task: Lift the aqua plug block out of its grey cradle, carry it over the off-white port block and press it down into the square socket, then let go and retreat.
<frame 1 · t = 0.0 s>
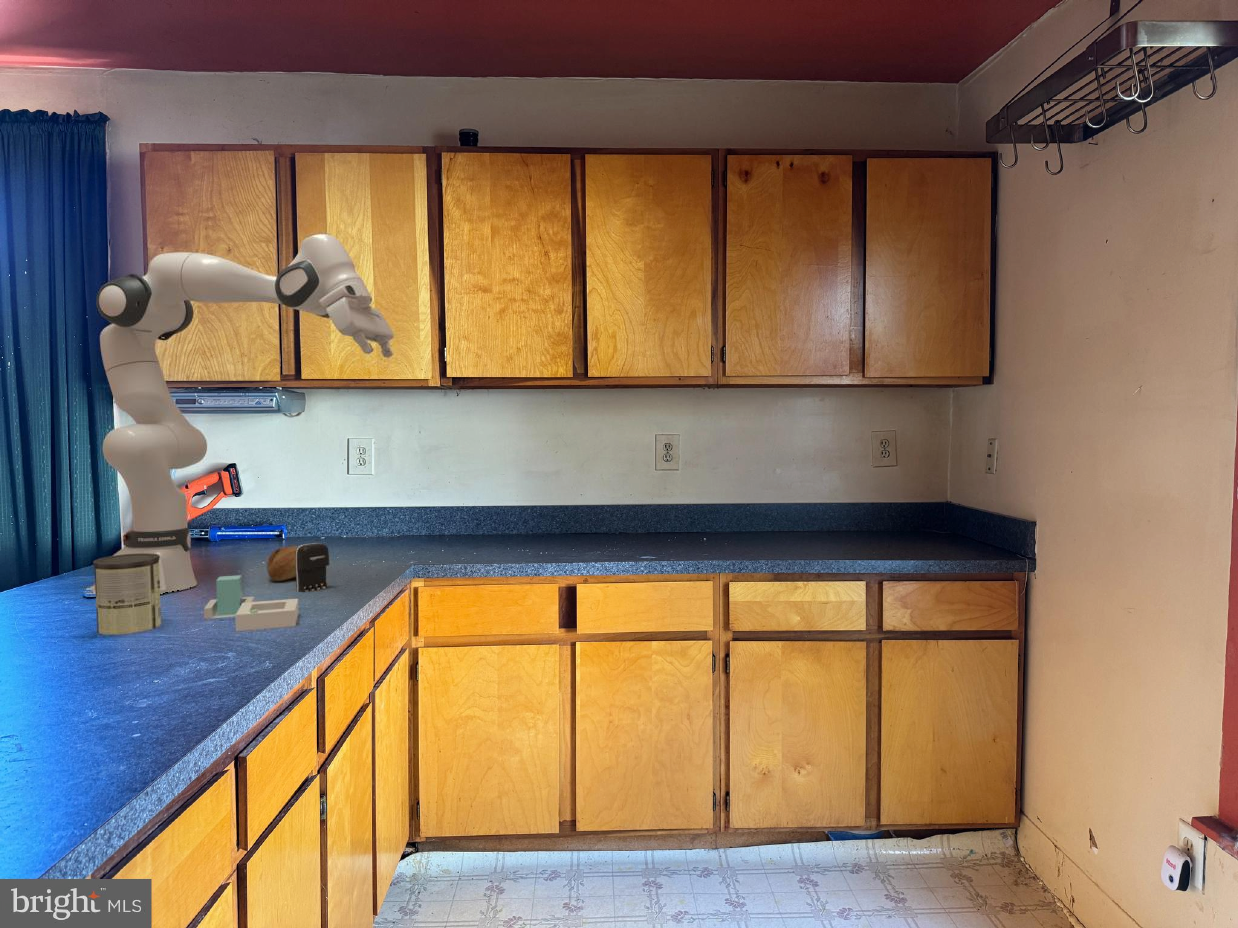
hand: (379, 354, 167), 54 cm above the table, tool tilted 30°, fingers open, 8 cm apart
holster: (230, 617, 151), on the table
battery: (313, 594, 172), on the table
bread roll: (291, 578, 191), on the table
port: (268, 627, 143), on the table
plug: (230, 612, 151), point 1 cm above the table, touching holster
coffee can: (130, 633, 140), on the table
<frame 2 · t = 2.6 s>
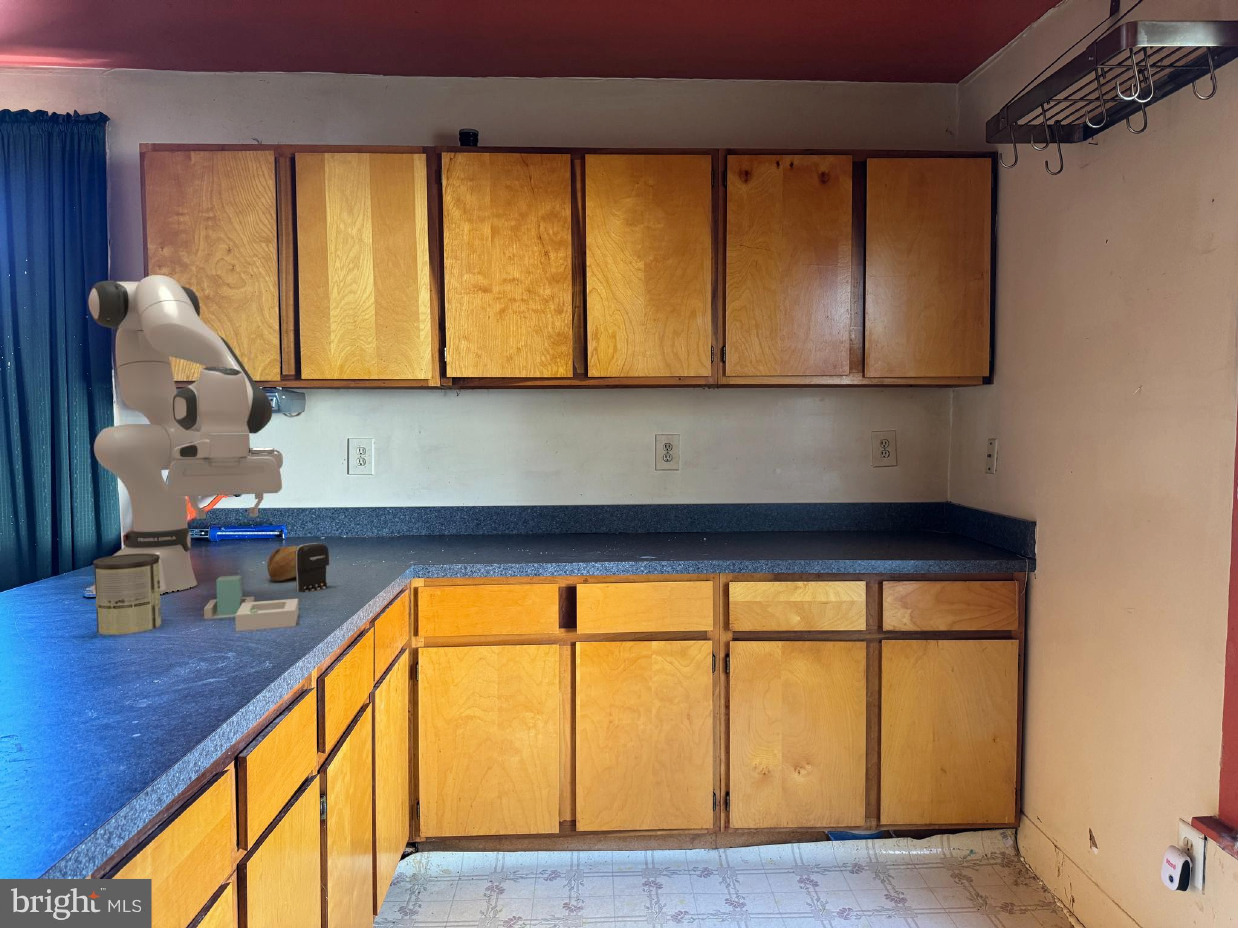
hand: (227, 517, 150), 20 cm above the table, tool pointing down, fingers open, 8 cm apart
nothing on the table moved.
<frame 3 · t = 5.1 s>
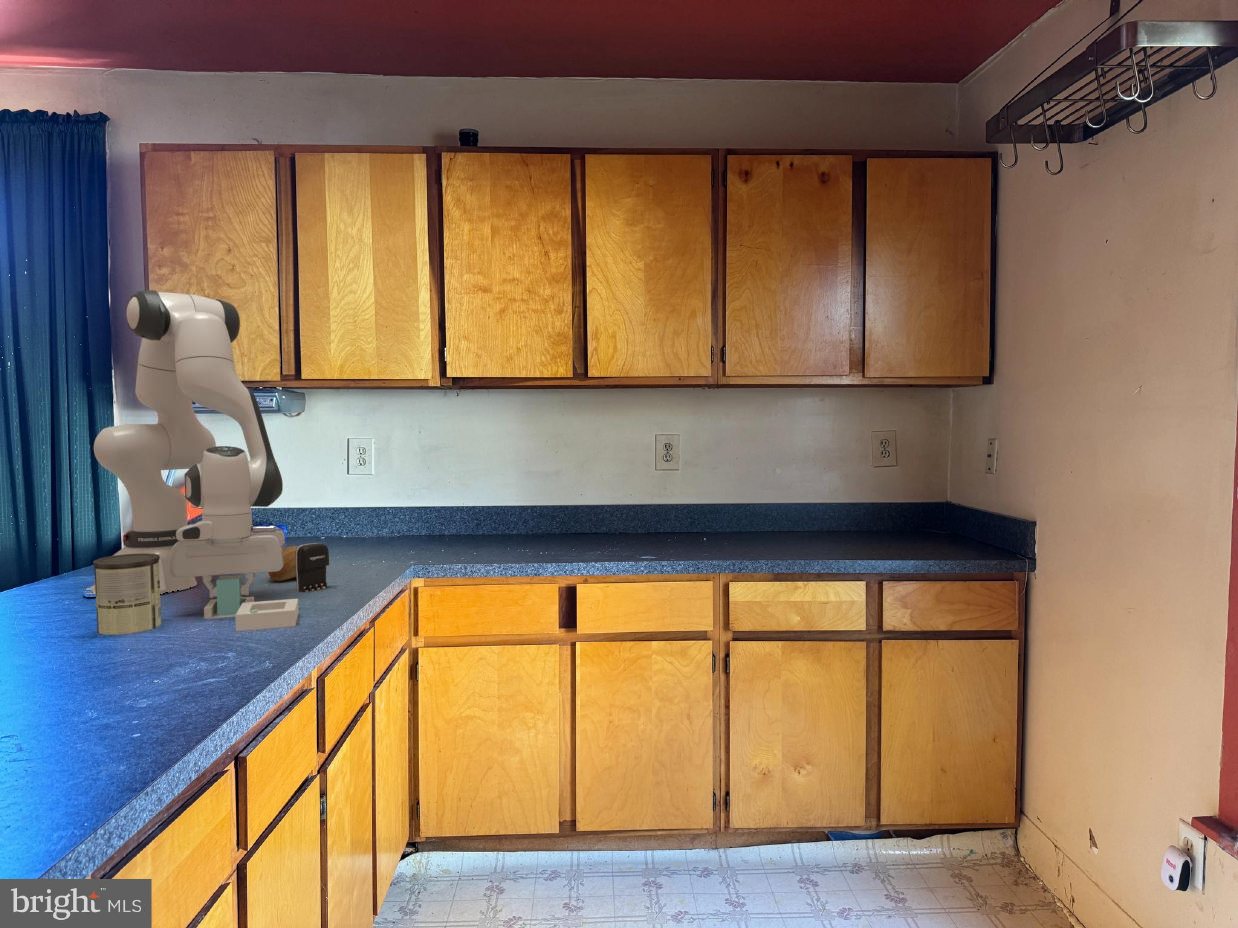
hand: (229, 595, 151), 4 cm above the table, tool pointing down, fingers closed on plug, 4 cm apart
plug: (230, 612, 151), point 1 cm above the table, touching gripper, holster
everything else where it was.
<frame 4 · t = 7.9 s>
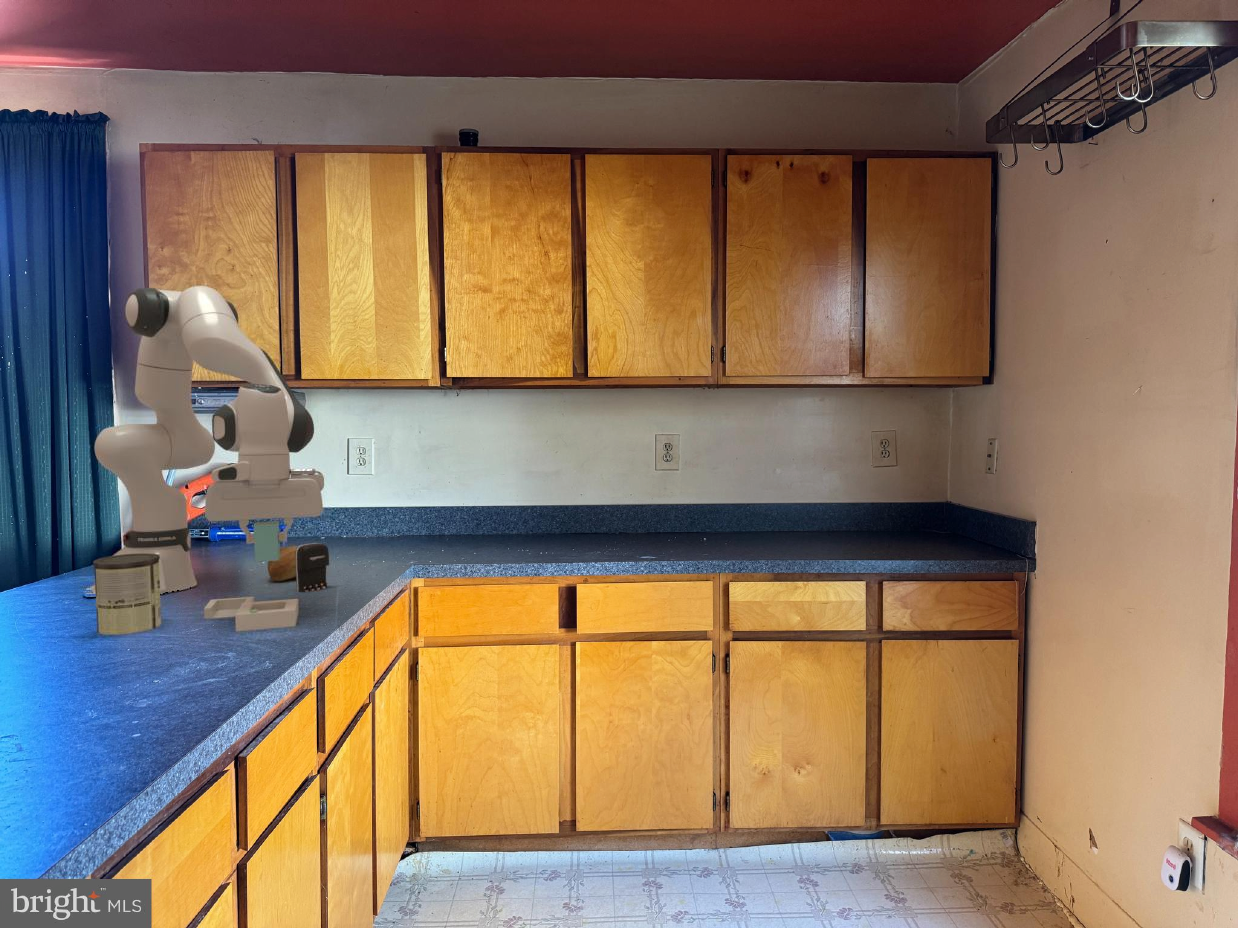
hand: (267, 542, 143), 16 cm above the table, tool pointing down, fingers closed on plug, 4 cm apart
plug: (267, 559, 143), point 13 cm above the table, touching gripper
everything else where it was.
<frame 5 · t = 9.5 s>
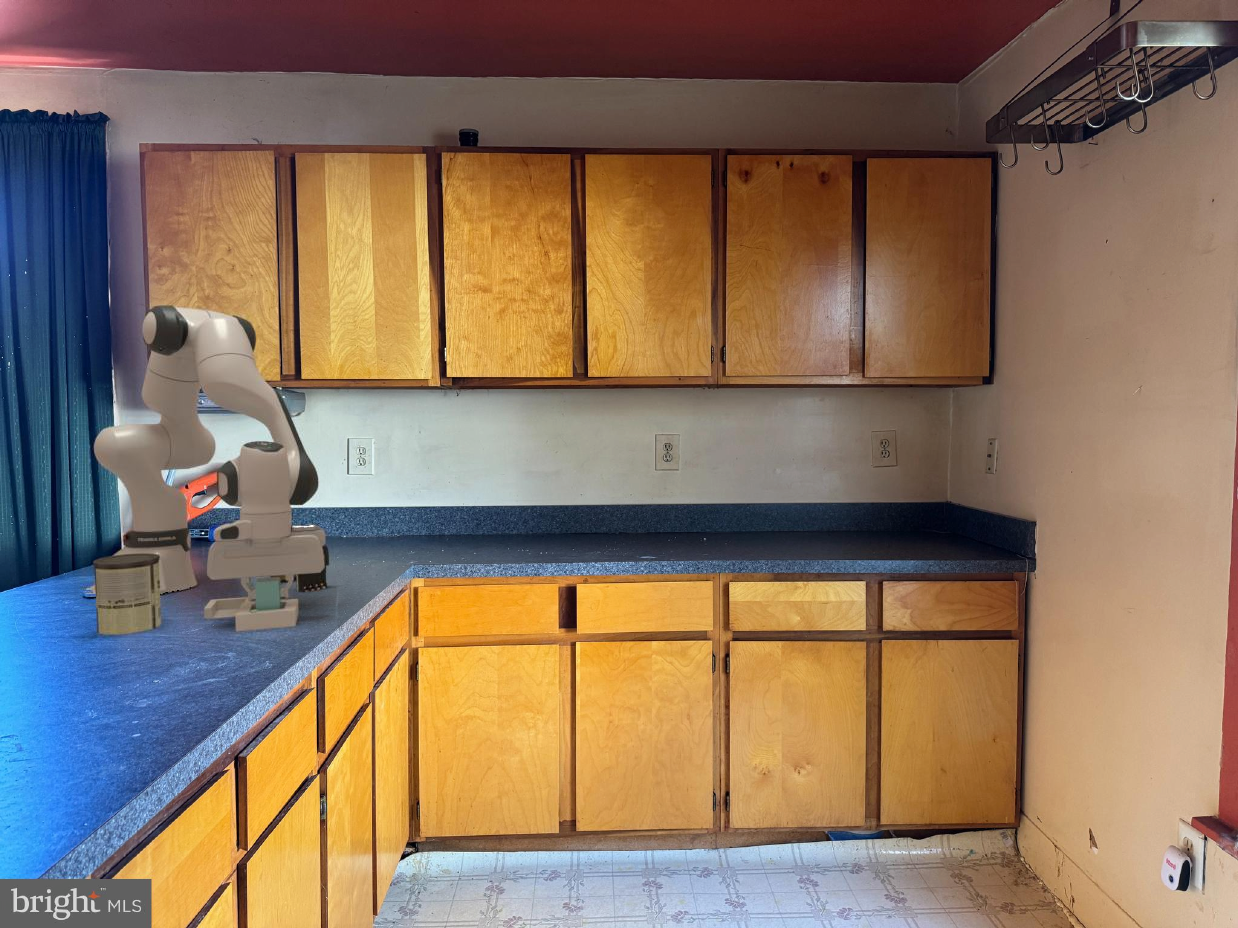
hand: (268, 598, 143), 5 cm above the table, tool pointing down, fingers closed on plug, 4 cm apart
plug: (269, 615, 143), point 2 cm above the table, touching gripper
everything else where it was.
when the fingers open (4 cm above the table, at t = 10.7 s): plug stays where it is, resting on port.
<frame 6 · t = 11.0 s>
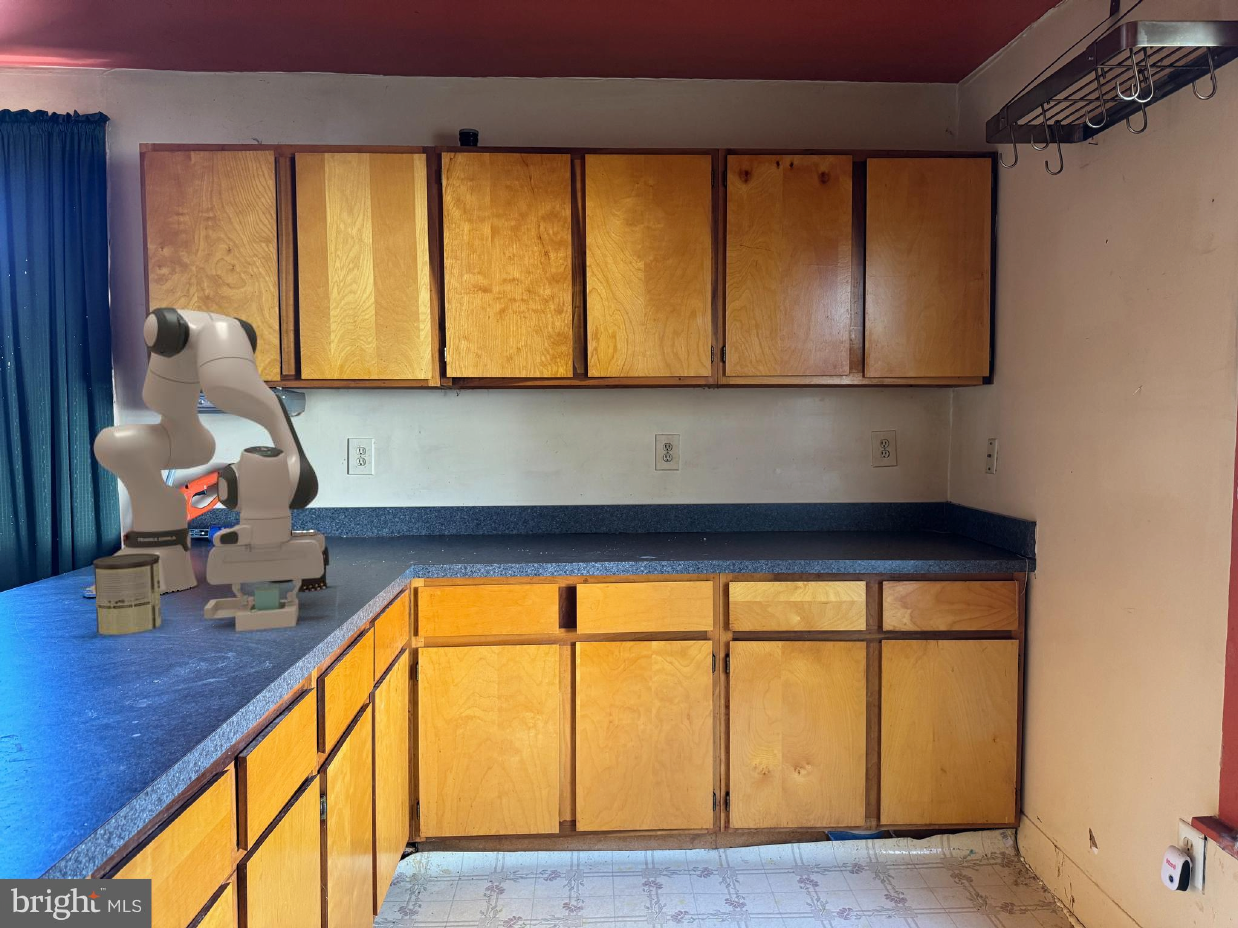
hand: (268, 603, 143), 4 cm above the table, tool pointing down, fingers open, 7 cm apart
plug: (268, 624, 143), resting on port
everything else where it was.
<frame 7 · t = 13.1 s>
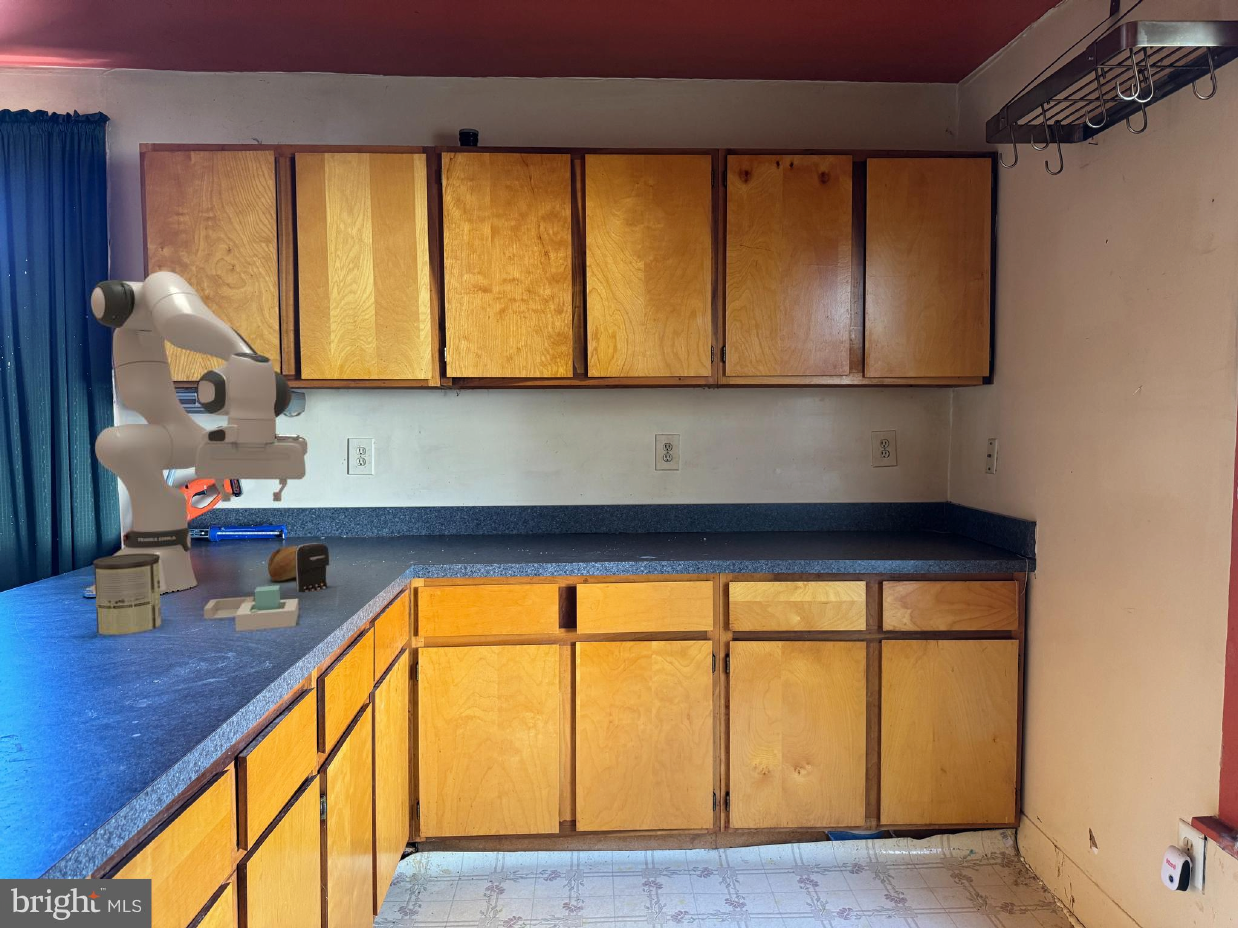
hand: (251, 501, 153), 23 cm above the table, tool pointing down, fingers open, 8 cm apart
nothing on the table moved.
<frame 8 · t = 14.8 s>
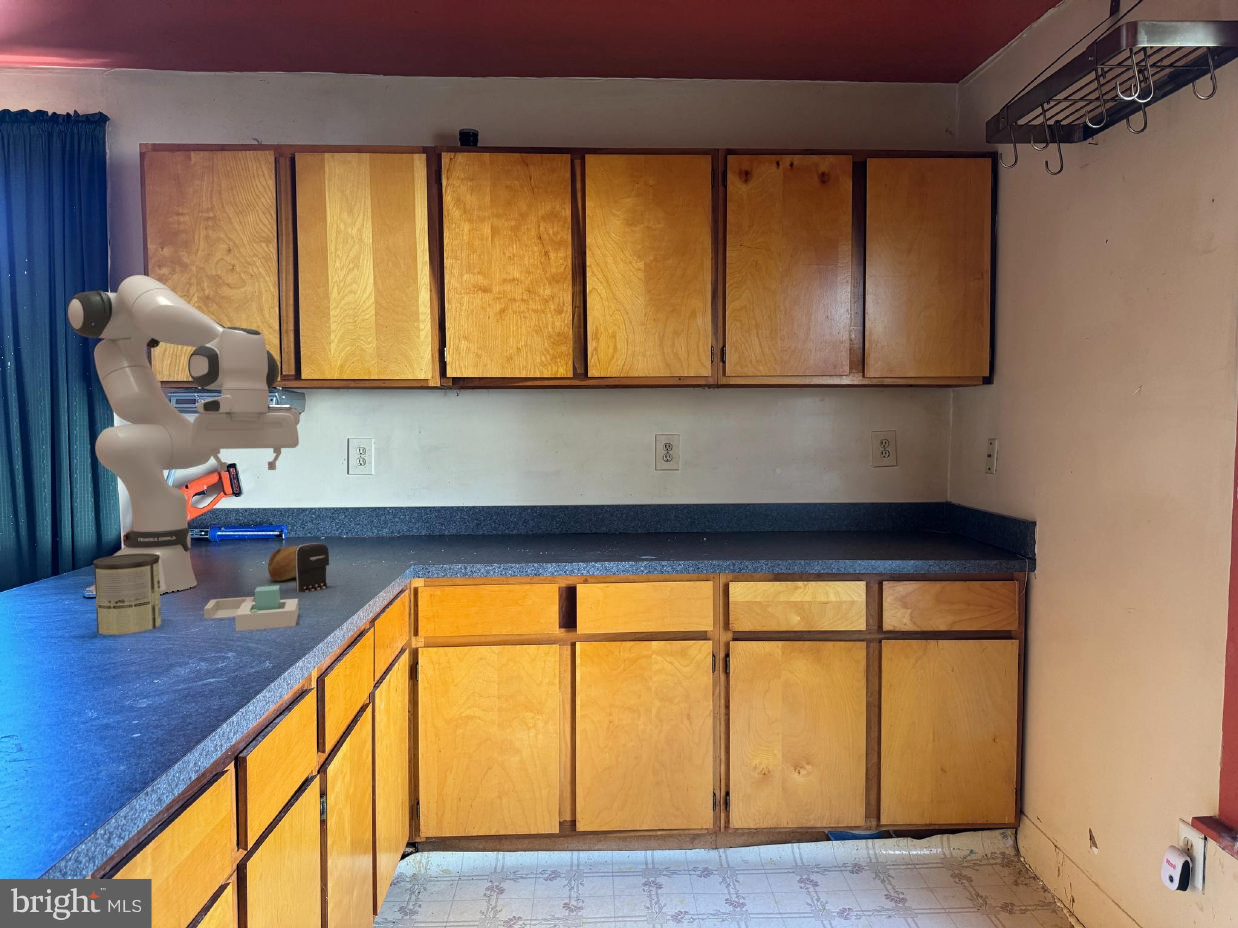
hand: (247, 470, 158), 29 cm above the table, tool pointing down, fingers open, 8 cm apart
nothing on the table moved.
at the end: plug 0.0 cm off-centre on the port, point 0.5 cm above the port's base; plug tilted 0°; the gripper is holding nothing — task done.
